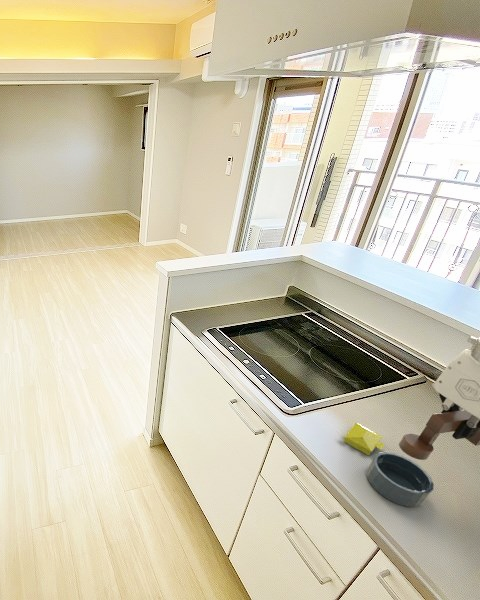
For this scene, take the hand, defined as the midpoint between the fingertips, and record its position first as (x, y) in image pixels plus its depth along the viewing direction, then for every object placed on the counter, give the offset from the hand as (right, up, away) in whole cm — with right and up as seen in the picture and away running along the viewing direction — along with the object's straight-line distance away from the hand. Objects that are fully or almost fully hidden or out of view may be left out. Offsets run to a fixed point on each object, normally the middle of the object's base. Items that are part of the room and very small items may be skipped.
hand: (452, 430), depth 65 cm
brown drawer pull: (0, -4, +2) cm, 5 cm away
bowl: (-5, -15, +7) cm, 17 cm away
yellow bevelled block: (-3, -10, +17) cm, 20 cm away
